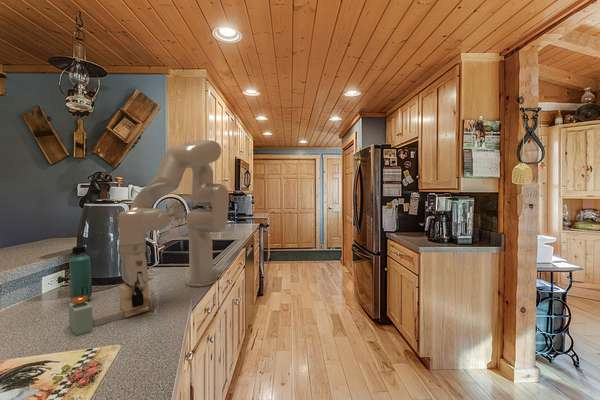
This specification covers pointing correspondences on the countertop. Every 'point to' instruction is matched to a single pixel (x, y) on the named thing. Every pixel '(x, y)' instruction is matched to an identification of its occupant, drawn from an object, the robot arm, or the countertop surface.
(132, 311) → the light wood block
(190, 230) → the robot arm
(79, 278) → the beverage bottle
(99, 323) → the rail
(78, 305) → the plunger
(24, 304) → the countertop surface
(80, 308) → the grey-green rectangular block
